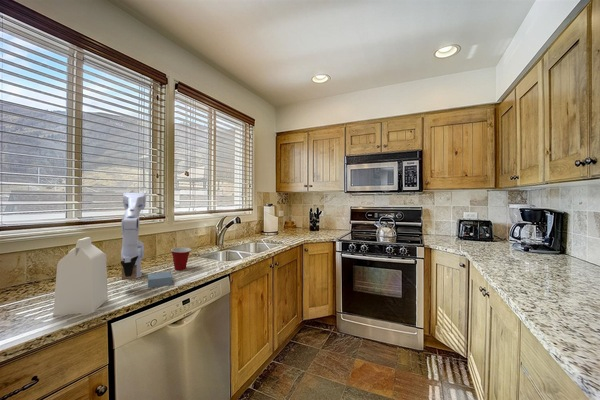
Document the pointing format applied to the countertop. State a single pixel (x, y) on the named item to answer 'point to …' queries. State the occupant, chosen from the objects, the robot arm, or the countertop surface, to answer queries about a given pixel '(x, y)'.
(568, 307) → the countertop surface
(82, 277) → the milk
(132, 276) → the walnut cube
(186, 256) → the plastic cup
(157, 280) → the slate block
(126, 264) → the robot arm
